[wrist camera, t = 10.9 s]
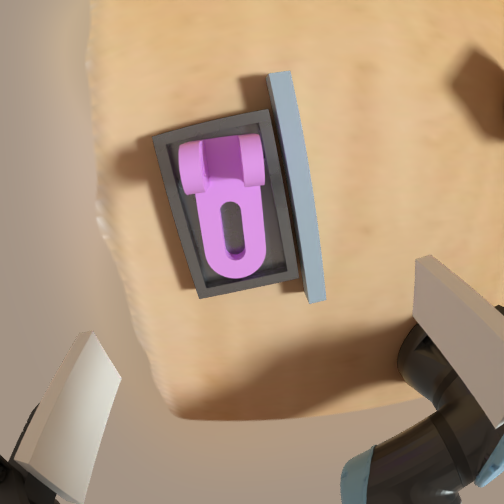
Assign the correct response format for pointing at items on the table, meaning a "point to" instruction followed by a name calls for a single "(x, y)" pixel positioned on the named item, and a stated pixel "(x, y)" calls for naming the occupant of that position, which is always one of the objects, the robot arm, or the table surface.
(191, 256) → the shallow rectangular tray
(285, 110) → the door edge
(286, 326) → the table surface
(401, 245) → the table surface
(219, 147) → the bracket
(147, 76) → the table surface
